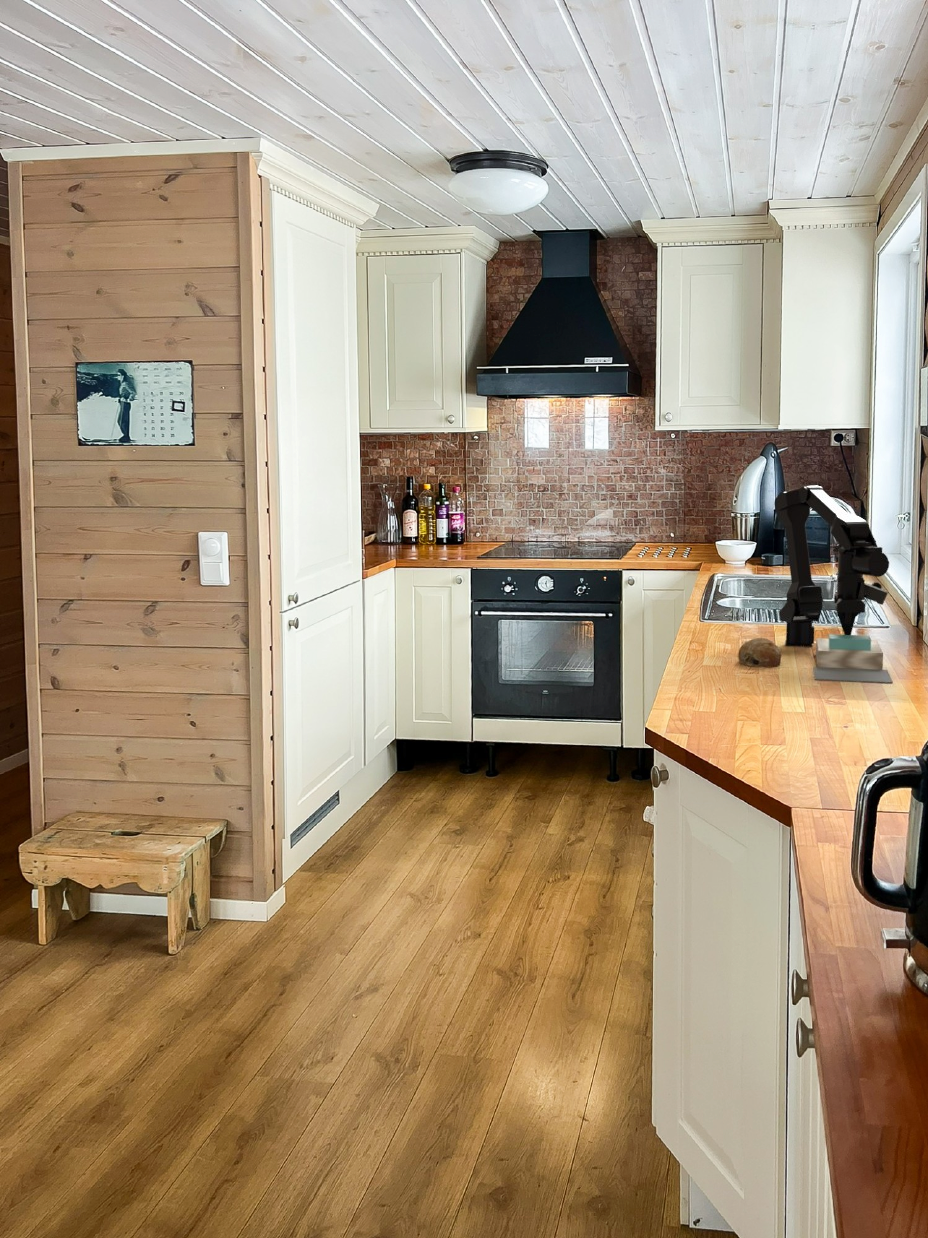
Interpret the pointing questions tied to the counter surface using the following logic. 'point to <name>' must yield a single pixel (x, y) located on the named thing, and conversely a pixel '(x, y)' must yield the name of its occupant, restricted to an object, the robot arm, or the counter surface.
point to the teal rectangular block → (849, 642)
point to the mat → (852, 675)
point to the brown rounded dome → (760, 653)
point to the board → (849, 656)
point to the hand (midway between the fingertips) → (847, 637)
